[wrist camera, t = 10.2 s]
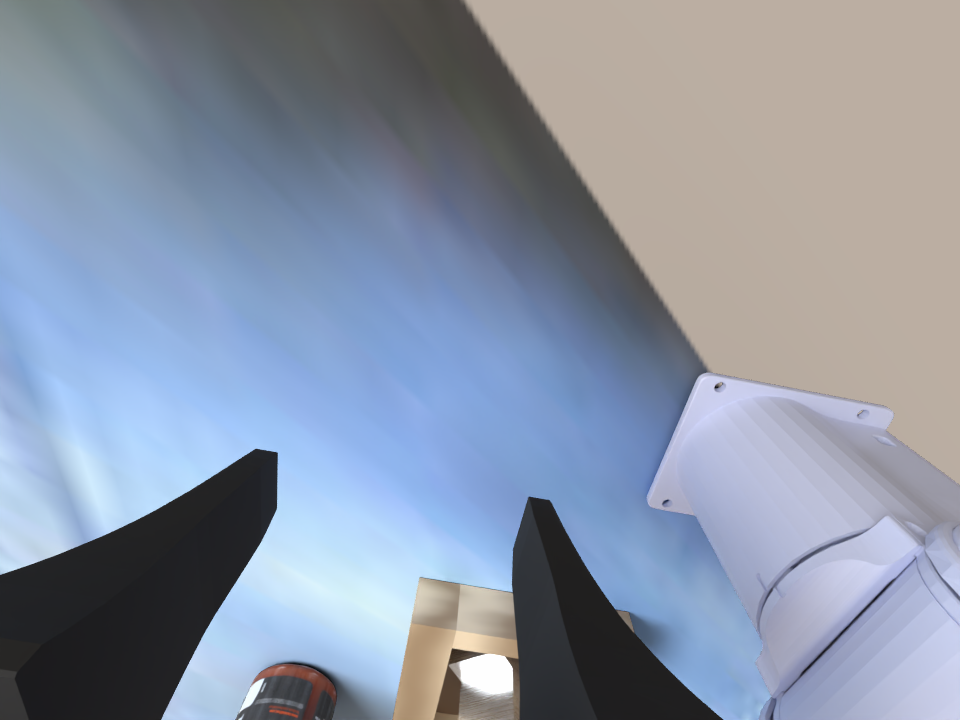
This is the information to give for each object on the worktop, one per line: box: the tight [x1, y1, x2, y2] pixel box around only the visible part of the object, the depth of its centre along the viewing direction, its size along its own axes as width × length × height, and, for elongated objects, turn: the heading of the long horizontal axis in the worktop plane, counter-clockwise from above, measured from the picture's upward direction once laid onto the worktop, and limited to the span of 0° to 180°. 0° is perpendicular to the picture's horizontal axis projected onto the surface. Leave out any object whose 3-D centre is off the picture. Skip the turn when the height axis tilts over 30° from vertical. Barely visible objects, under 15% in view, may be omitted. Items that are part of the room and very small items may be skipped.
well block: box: [392, 578, 634, 720], centre depth 30 cm, size 13×14×3 cm
